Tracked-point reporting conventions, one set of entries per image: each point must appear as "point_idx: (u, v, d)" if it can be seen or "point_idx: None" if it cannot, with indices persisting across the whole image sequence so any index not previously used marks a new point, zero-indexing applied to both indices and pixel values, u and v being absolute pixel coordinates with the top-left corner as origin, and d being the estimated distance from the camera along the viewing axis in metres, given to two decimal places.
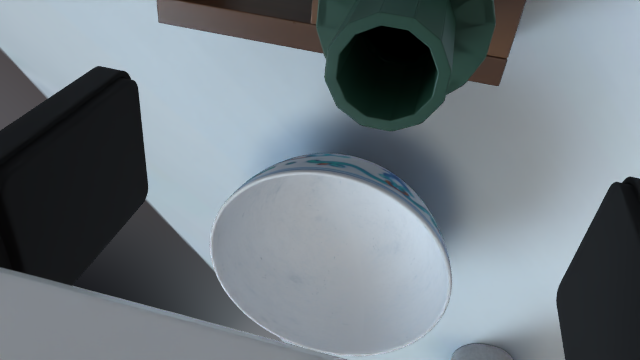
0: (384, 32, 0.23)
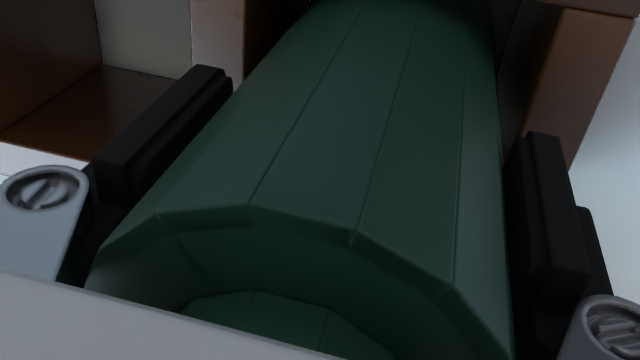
0: None
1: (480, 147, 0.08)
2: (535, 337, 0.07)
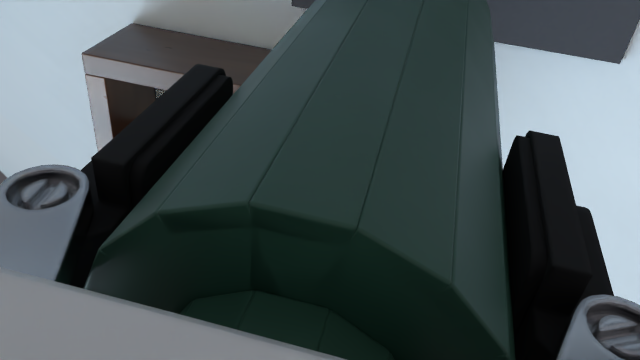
0: None
1: (479, 148, 0.08)
2: (535, 337, 0.07)
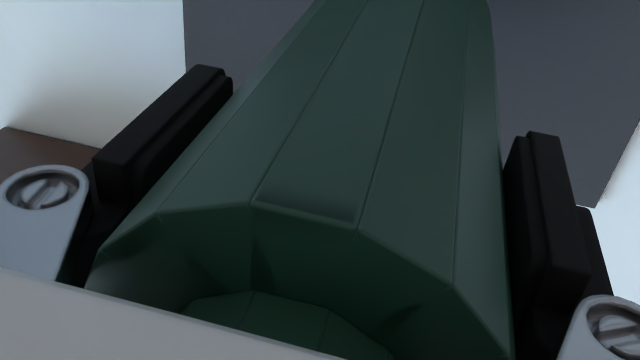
0: None
1: (480, 148, 0.08)
2: (535, 337, 0.07)
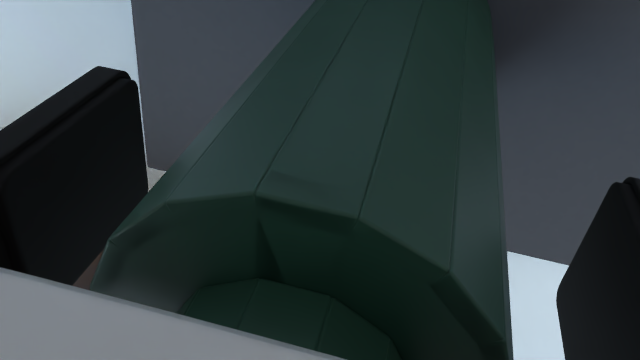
0: None
1: (478, 143, 0.09)
2: None
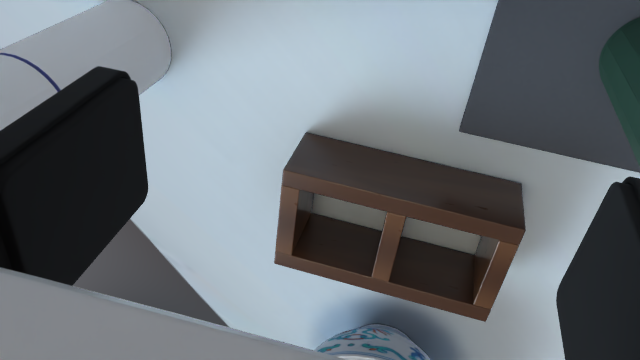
0: None
1: None
2: None
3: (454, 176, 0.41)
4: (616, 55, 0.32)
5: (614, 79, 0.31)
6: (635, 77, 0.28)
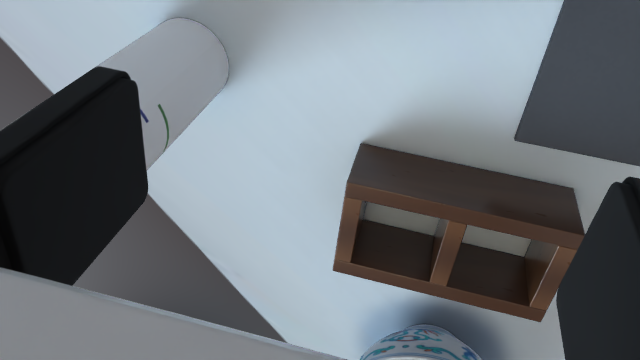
0: None
1: None
2: None
3: (509, 183, 0.43)
4: None
5: None
6: None
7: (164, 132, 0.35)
